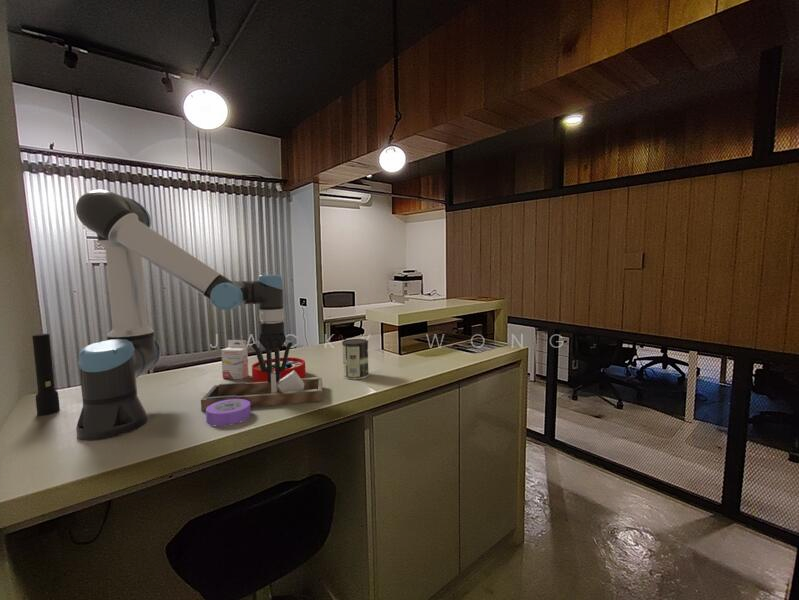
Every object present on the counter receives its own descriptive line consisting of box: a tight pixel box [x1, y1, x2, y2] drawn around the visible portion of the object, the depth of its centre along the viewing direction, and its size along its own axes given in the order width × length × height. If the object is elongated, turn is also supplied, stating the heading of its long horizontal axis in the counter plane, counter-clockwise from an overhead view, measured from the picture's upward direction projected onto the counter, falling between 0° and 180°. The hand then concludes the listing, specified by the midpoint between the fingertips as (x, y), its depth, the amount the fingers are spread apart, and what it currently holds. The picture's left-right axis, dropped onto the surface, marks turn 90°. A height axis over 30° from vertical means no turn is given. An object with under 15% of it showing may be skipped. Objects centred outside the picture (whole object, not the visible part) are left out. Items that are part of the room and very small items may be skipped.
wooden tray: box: [200, 377, 323, 412], centre depth 122 cm, size 36×14×4 cm, turn 101°
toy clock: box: [251, 357, 306, 383], centre depth 144 cm, size 20×6×20 cm
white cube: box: [277, 370, 304, 393], centre depth 123 cm, size 6×6×6 cm
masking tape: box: [205, 399, 252, 427], centre depth 106 cm, size 12×12×4 cm
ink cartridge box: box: [220, 339, 249, 380], centre depth 145 cm, size 9×5×15 cm, turn 84°
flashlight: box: [31, 333, 60, 416], centre depth 110 cm, size 5×24×5 cm
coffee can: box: [341, 338, 370, 381], centre depth 145 cm, size 10×10×14 cm
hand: (274, 391), depth 122 cm, fingers closed
